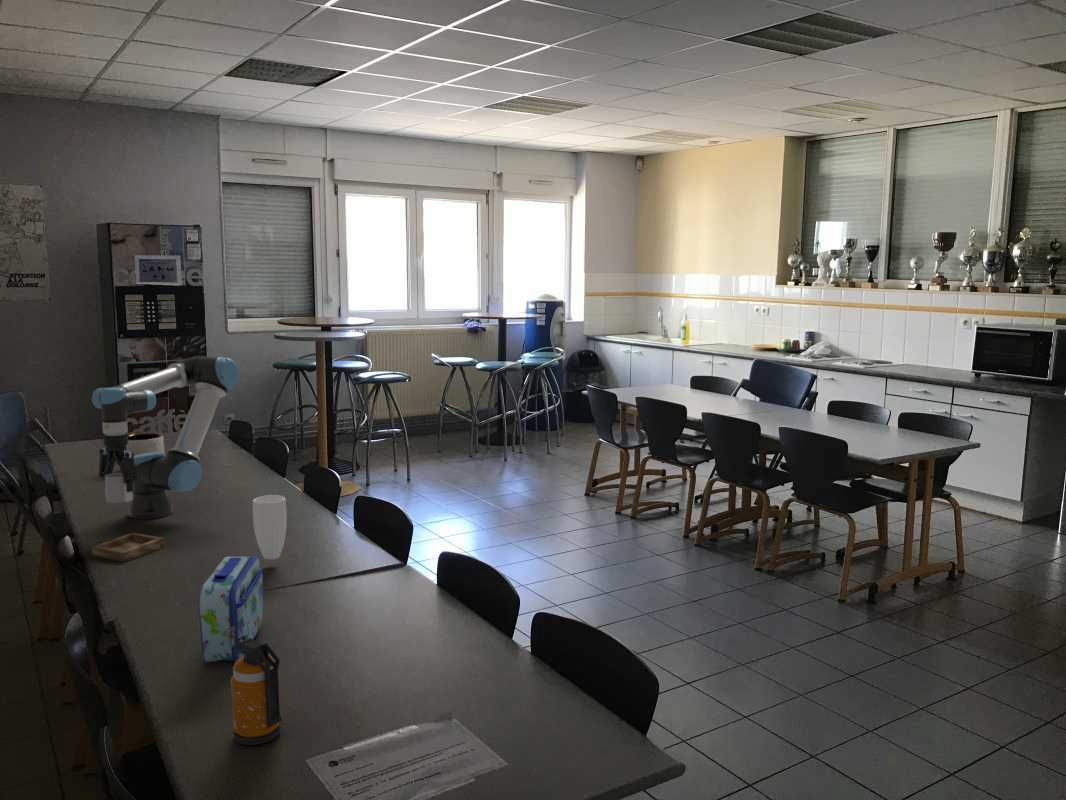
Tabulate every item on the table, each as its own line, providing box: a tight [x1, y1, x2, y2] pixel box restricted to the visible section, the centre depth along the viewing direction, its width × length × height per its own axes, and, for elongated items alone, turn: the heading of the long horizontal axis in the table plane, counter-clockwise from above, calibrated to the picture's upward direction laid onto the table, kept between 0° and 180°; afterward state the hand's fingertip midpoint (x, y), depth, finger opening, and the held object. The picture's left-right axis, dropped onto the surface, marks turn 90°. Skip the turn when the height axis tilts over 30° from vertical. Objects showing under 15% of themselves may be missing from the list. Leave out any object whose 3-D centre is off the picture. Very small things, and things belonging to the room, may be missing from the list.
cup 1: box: [104, 472, 125, 504], centre depth 288 cm, size 7×10×9 cm
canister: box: [230, 638, 283, 746], centre depth 168 cm, size 9×11×20 cm
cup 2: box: [252, 494, 288, 560], centre depth 263 cm, size 10×10×22 cm
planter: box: [123, 432, 166, 460], centre depth 384 cm, size 18×18×16 cm
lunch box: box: [198, 554, 264, 663], centre depth 208 cm, size 26×11×21 cm, turn 5°
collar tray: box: [91, 532, 165, 563], centre depth 277 cm, size 16×14×3 cm
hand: (119, 499), depth 289 cm, fingers closed on cup 1, 8 cm apart
